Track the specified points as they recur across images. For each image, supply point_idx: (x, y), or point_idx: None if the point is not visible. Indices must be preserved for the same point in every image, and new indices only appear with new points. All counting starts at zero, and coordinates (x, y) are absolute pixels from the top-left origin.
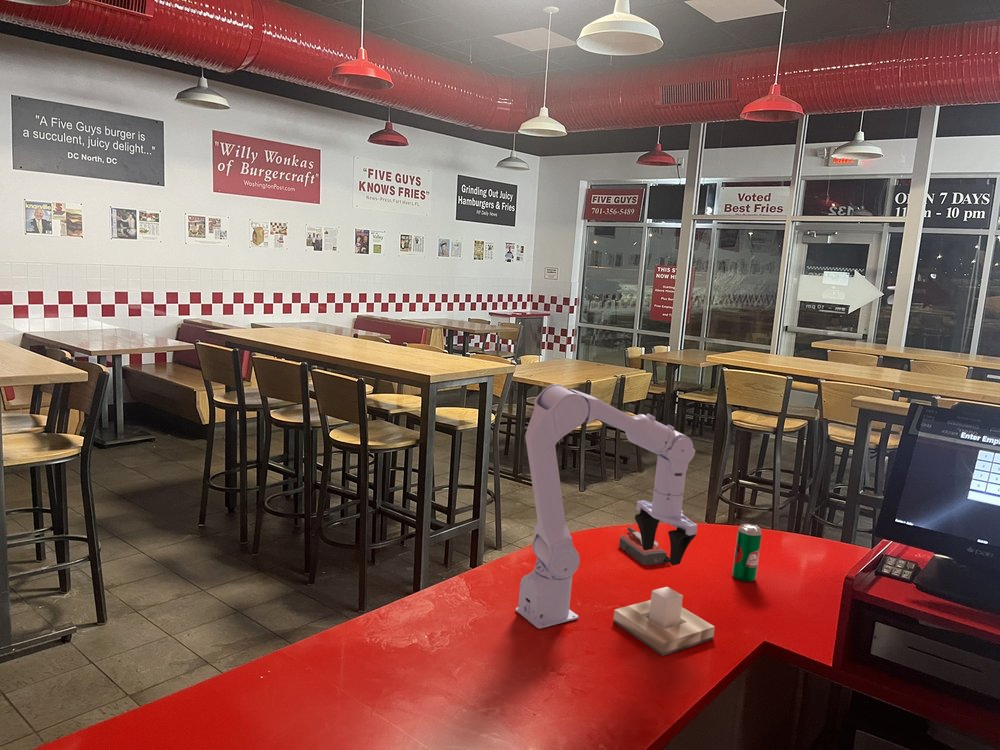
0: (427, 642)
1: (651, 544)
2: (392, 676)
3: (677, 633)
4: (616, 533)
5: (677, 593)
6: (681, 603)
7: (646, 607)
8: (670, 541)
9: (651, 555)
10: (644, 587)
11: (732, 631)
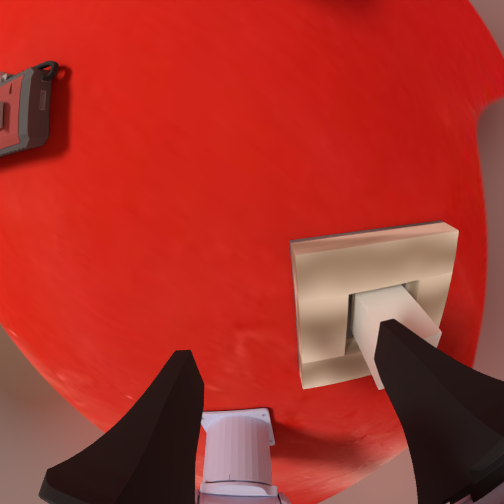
0: None
1: (189, 377)
2: (293, 491)
3: None
4: None
5: (427, 340)
6: (430, 320)
7: (327, 333)
8: (415, 465)
9: (30, 122)
10: (161, 216)
11: (437, 149)
